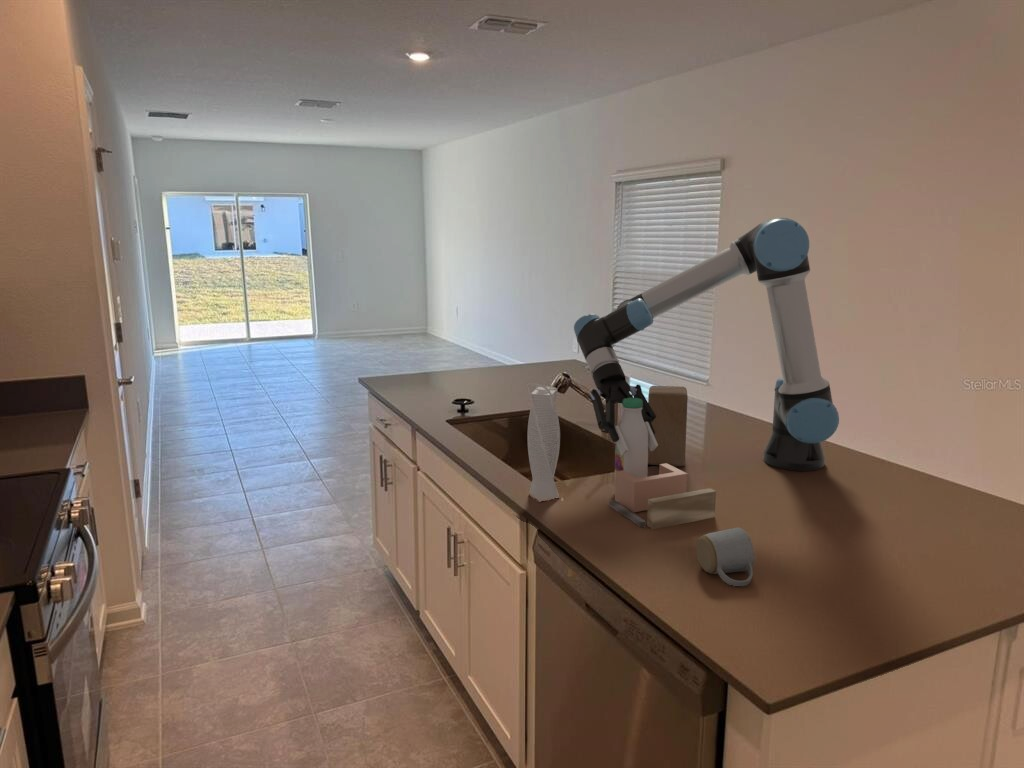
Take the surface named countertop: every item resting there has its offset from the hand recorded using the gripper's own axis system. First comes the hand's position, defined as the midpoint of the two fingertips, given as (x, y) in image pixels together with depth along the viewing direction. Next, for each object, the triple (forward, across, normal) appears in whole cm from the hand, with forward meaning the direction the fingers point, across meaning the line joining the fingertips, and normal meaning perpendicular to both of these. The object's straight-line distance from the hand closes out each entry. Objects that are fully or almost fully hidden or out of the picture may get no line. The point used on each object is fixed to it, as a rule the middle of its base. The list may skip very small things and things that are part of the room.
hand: (639, 450), depth 161 cm
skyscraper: (+2, +21, -14) cm, 25 cm away
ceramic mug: (+36, +6, +20) cm, 41 cm away
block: (-5, -21, -22) cm, 31 cm away
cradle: (+11, 0, -5) cm, 12 cm away
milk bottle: (+4, 0, -9) cm, 9 cm away
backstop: (+15, 0, -1) cm, 15 cm away
